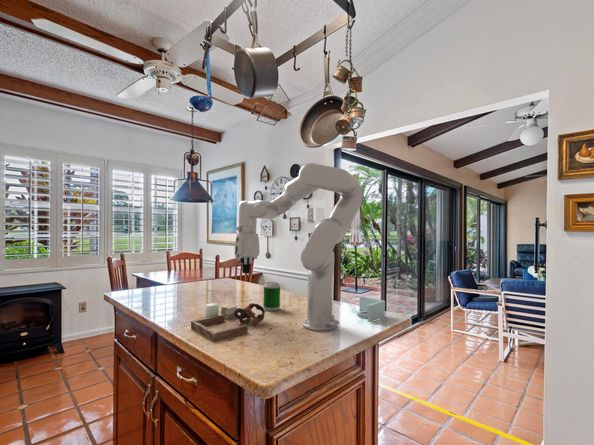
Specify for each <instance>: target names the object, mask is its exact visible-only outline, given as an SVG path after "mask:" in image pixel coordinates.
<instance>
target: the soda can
mask: <svg viewBox="0 0 594 445" xmlns="http://www.w3.org/2000/svg"><path fill="white" fill-rule="evenodd" d="M262 307H263V308H264V310H265V311H266V312H276V311H278V310H279V309H280V308H281V284H279V282H276V281H268V282H265V283H264V285H263V306H262Z"/></svg>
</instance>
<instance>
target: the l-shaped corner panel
mask: <svg viewBox="0 0 594 445" xmlns="http://www.w3.org/2000/svg"><path fill="white" fill-rule="evenodd" d="M357 315H358V316H359V317H363V318H362V319H367V323H368V322H372V321H374V320H377V319H379V318H381V319H383V318H382V317H384V318H385V317H386V300H383V299H377V298H372V297H368V296H363V295H360V296H359V311H358V312H357V311H356V316H357ZM358 316H357V317H358ZM359 317H358V318H359ZM379 320H380V319H379ZM377 321H378V320H377ZM374 322H375V321H374ZM372 323H373V322H372Z"/></svg>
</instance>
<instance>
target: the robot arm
mask: <svg viewBox="0 0 594 445" xmlns="http://www.w3.org/2000/svg"><path fill="white" fill-rule="evenodd" d="M320 189H321V190H325V191H329V192H333V193H336V194H338V195H339V196H340V197H339V200H338V201H337V202H336V204H335V206H334V207H333V209H332V212H331V213H330V215H329V217H328V218H324V219H322V220H320V221H319V222H318V223H317V224H316V225H315V226H314V228H313V230H312V232H311V234H310V235H309V237H308V239H307V240H306V243H305V245H304V246H303V249H302V251H301V254H300V261H301V265H302V266H303V267H304V268H305V269H306V270H307V271H308V276H307V316H306V317H307V318H306V319H305V320H303V324H302V326H303V328H305V329H308V330H311V331H317V332H319V331H320V332H328V331H333V330H334V329H336V328H338V325H340V324H339V323H340V321H339V320H337V319H335V315H333V286H334V282H333V281H334V267H335V252H334V251H333V250H334V248H335V246H336V245H337V244H339V243H341V242H343V240H344V239H345V237H346V235H347V232H348V231H349V229H350V227H351V225H352V223H353V221H354V219H355V218H356V216H357V213H358V212H359V210H360V208H361V206H362V202H363V197H364V194H363V188H362V186H361V184H360V183H359V181H358V180H357V179H356V177H355V176H353V175H352V174H351V173H350V172H349V171H347V170H345V168H344V169H343V168H340V167H334V166H330V165H323V164H319V163H313V162H309V163H306V164H304V165H303V166H301V168H300V169H299V172H298V176H297V177H295V178H293V179H292V180H289V181H288V182H286V184H285V185H284V190H283V192H282V193H281V194H280V195H278V197H276V198H275V199H273V200H271V201H269V200H263V199H261V200H260V199H259V200H253V201H252V200H241V201H240V202H239V206H238V207H239V208H238V226H236V227H235V229H236V231H237V233H236V237H235V242H234V256H235V257H234V260H236V261H239V262H240V263H241V269H242V270H241V272H242V274H245V275H246V274H249V275H250V273H251V264H252V263H253V261H254V260H257V259H258V257H259V256H260V237H259V234H258V233H257V223H258V222H257V220H258V219H265V220H272V219H276V218H277V217H280V216H281V215H283V214H285V213H286V212H288V211H289V210H290V209H292V208H293V207H294V206H295V205H296V204H297V203H298V202H299V201H301V200H303V199H304V198H306V197H308V196H310V195H311V194H312V193H315V192H316V191H318V190H320Z"/></svg>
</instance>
